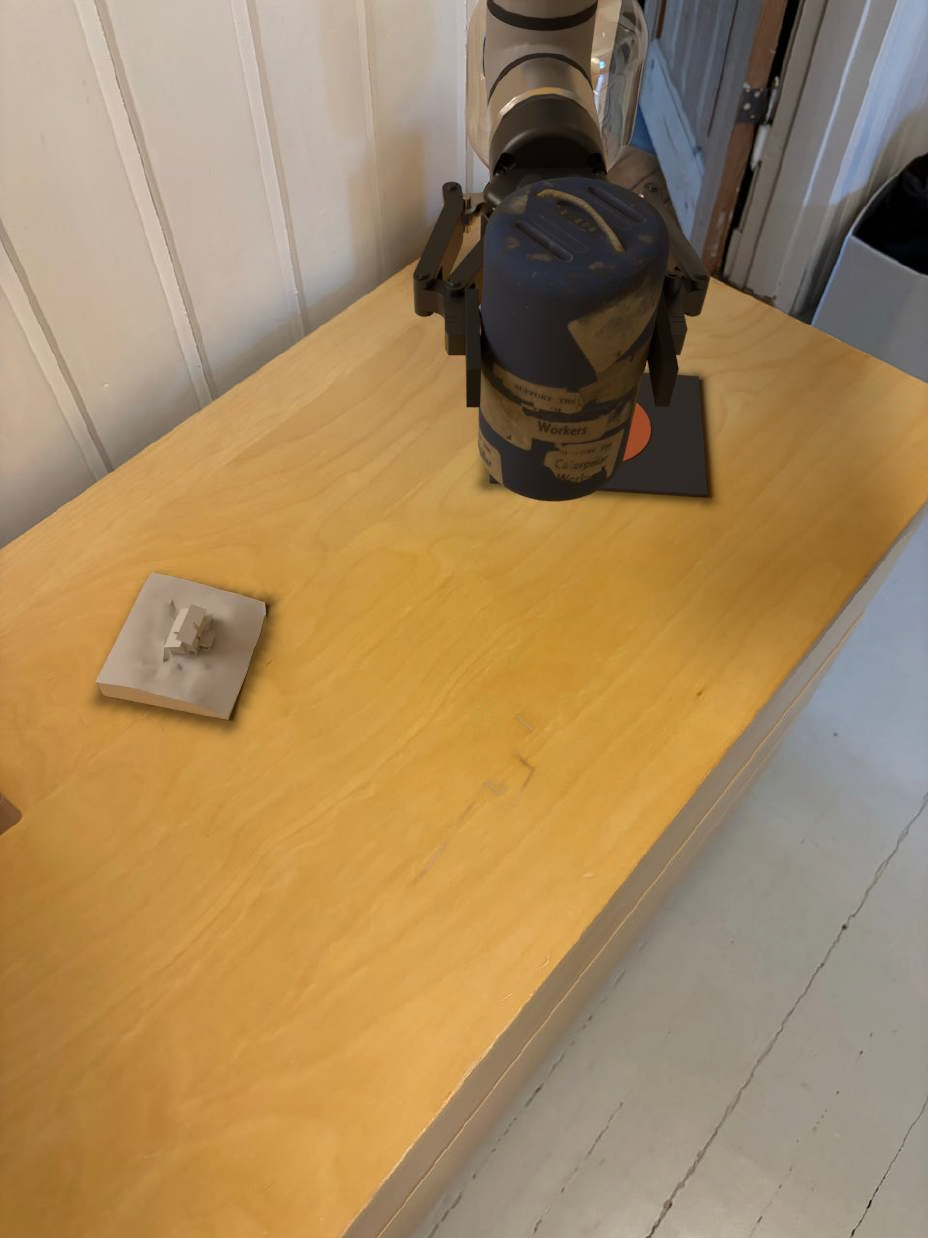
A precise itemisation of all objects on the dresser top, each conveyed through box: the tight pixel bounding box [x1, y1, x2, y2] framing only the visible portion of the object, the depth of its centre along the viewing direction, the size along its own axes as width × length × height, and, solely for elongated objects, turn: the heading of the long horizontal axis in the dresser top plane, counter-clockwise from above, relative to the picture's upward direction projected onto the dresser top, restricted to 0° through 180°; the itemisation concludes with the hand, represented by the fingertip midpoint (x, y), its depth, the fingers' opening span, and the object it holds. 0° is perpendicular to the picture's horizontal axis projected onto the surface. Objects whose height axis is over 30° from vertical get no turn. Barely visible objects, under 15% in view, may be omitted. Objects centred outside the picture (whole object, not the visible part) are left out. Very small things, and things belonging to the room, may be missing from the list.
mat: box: [488, 372, 709, 498], centre depth 81 cm, size 18×14×1 cm
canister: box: [477, 177, 670, 503], centre depth 53 cm, size 10×10×18 cm
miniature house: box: [94, 571, 267, 721], centre depth 67 cm, size 12×11×4 cm
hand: (570, 388), depth 50 cm, fingers closed on canister, 10 cm apart
